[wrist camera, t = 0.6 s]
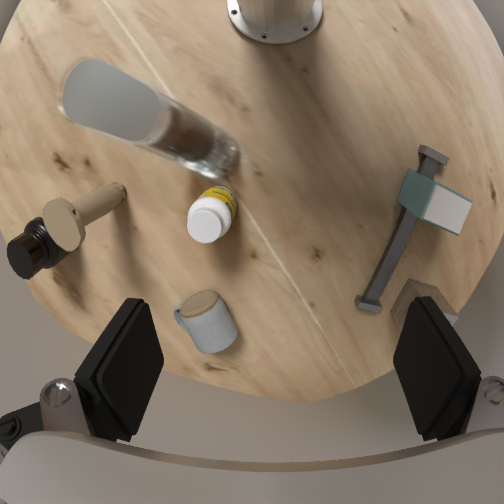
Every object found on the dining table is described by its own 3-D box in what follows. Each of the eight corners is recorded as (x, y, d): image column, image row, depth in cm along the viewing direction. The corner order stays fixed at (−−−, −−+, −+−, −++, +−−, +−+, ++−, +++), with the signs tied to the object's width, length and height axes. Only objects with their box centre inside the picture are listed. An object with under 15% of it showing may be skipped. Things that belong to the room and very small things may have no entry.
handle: (119, 215, 43) (66, 257, 30) (97, 184, 41) (37, 216, 28) (140, 199, 42) (87, 237, 29) (116, 166, 40) (55, 192, 26)
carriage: (405, 167, 37) (436, 181, 29) (440, 184, 37) (474, 202, 29) (393, 198, 39) (421, 220, 31) (429, 213, 39) (459, 236, 31)
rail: (420, 144, 35) (426, 145, 34) (442, 156, 36) (448, 158, 34) (354, 301, 47) (357, 307, 45) (375, 306, 47) (379, 313, 46)
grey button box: (408, 278, 45) (429, 309, 37) (438, 287, 45) (460, 317, 37) (390, 311, 48) (406, 344, 40) (419, 318, 48) (437, 349, 40)
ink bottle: (56, 196, 43) (11, 220, 32) (87, 231, 45) (46, 263, 34) (37, 230, 46) (-2, 257, 35) (65, 262, 48) (29, 295, 37)
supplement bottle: (245, 206, 42) (237, 231, 33) (217, 228, 43) (202, 258, 35) (220, 177, 40) (205, 194, 31) (192, 201, 42) (171, 224, 33)
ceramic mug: (221, 282, 47) (212, 310, 40) (241, 320, 50) (235, 351, 43) (167, 298, 50) (152, 325, 43) (189, 332, 53) (178, 361, 46)
